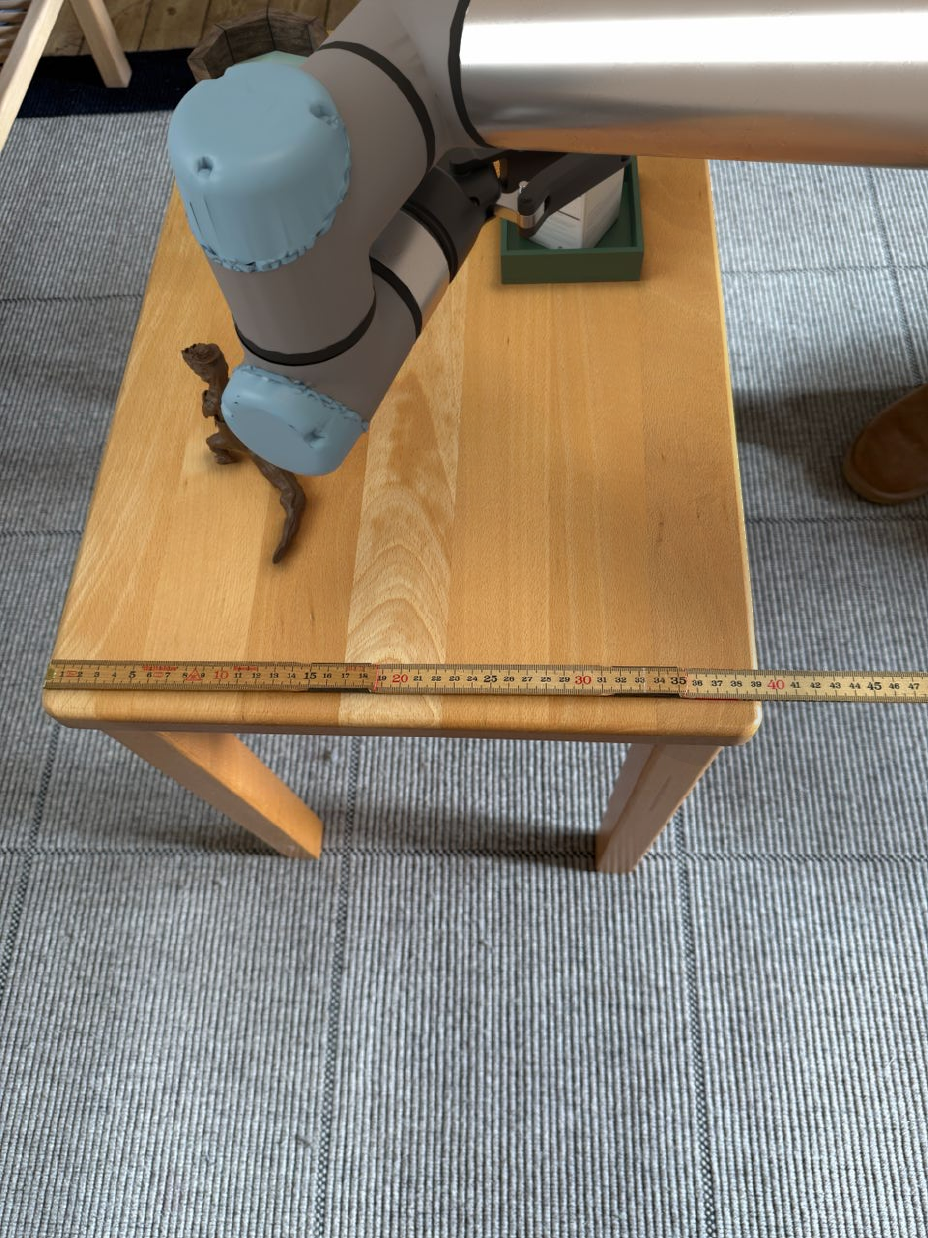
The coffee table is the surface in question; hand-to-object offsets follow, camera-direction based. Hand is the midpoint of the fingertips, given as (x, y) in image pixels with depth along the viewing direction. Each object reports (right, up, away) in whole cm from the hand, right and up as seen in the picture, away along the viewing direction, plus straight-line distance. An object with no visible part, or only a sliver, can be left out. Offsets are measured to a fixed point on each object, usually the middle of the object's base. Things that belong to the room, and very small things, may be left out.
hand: (533, 36), depth 61 cm
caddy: (+6, -2, +26) cm, 27 cm away
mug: (-19, +3, +30) cm, 36 cm away
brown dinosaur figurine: (-23, -29, +16) cm, 40 cm away
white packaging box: (+6, -2, +26) cm, 26 cm away
